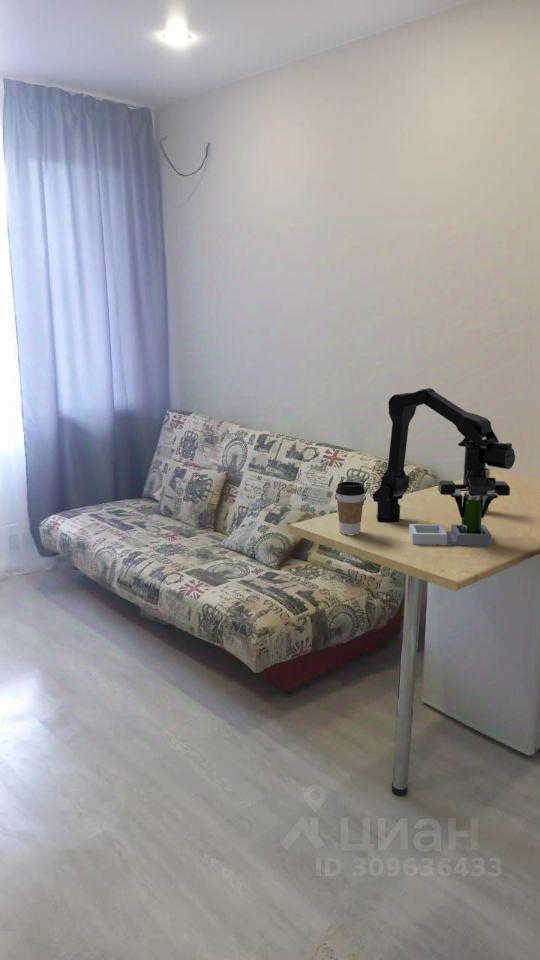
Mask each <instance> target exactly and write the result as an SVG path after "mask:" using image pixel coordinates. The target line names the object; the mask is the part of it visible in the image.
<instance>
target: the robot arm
mask: <svg viewBox="0 0 540 960" xmlns="http://www.w3.org/2000/svg"><path fill="white" fill-rule="evenodd" d="M422 405H425V406H427V407H428V408H429V409H431V410H433V412H435V413H437V414H439V415H440V416H442V417H443V418H445V419H446V420H447V421H449V422H450V423H452V424H453V425H454V426H455V427H456V429H457V431H458V432H459V433H460V434H461V435H462V436H463V437H464V438H463V439H462V440H461V441H460V442H459V443H458V444H457V445H458V447H464V464H463V479H462V484H460V483H456V484H455V482H454V480H439V482H438V484H437V485H438V486H437V490H438V492H439V494H440V495H443V496H444V495H445V496H450V497H451V498H454V501H455V502H456V503H455V504H456V507H457V510H458V513H459V517H460V519H462V516H463V496H464V495H462V492H469V494H470V495H471V496H476V495H480V496H483V506H482V519H484V518H485V515H486V514H487V513H486V511H487V508H488V509H489V506H490V505H491V502H493V500H494V499H498V498H499V496H503V497H504V496H510V494H511V487H510V486H509V485H508V483H506V481H505V480H503V481H501V480H498V481H497V480H496V477H489V478H487V477H486V468H487V466H488V467H494V468H499V469H505V470H510V469H511V468H513V466H514V464H515V461H516V454H515V450H514V448H513V443H511V442H510V443H509V442H506V443H503V442H500V440H499V439H498V436H497V435H496V433H495V432H494V430H493V427H492V422H491V421H490V419H488V418H486V417H484V416H482V415H479V414H475V413H471V412H469V411H466V410H464V409H463V408H461V407H460V406H458V405H457V404H455V403H454V402H451V401H450V400H449V399H447V398H446V397H444V396H443V395H442V394H439V393H438V392H436V391H435V390H434V389H433V388H431V387H427V388H422V389H420V390H417V391H414V392H404V393H403V392H402V393H398V394H393V395H392V396H391V397H390V398H389V400H388V415H389V418H390V420H391V422H392V423H391V425H392V426H391V433H390V434H391V435H390V443H389V452H388V462H387V468H386V470H385V472H384V474H383V475H382V477H381V480H380V484H379V488H378V489H377V490H376V491H375V492H374V493H372V499H373V502H375V503H377V505H376V506H377V507H376V520H377V522H380V523H381V522H384V523H385V522H389V523H390V522H392V523H394V522H395V523H397V522H398V523H399V522H400V521H399V520H400V518H401V505H400V503H399V500H402V499H403V496H404V494H405V493H406V492H407V491H408V489H410V479H411V476H410V475H407V474H406V471H405V460H406V452H407V444H408V436H409V435H408V434H409V428H410V423H411V422H412V420H413V418H414V417H415V414H416V411H417V407H418V406H422ZM485 513H486V514H485Z"/></svg>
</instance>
